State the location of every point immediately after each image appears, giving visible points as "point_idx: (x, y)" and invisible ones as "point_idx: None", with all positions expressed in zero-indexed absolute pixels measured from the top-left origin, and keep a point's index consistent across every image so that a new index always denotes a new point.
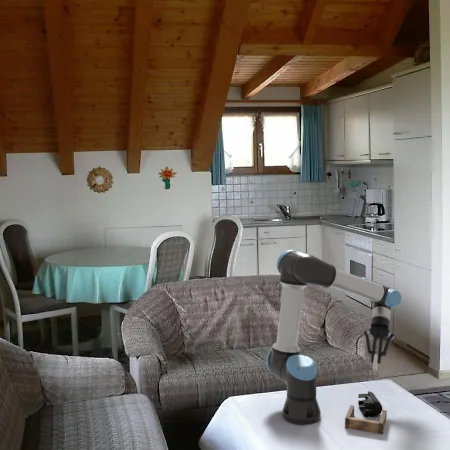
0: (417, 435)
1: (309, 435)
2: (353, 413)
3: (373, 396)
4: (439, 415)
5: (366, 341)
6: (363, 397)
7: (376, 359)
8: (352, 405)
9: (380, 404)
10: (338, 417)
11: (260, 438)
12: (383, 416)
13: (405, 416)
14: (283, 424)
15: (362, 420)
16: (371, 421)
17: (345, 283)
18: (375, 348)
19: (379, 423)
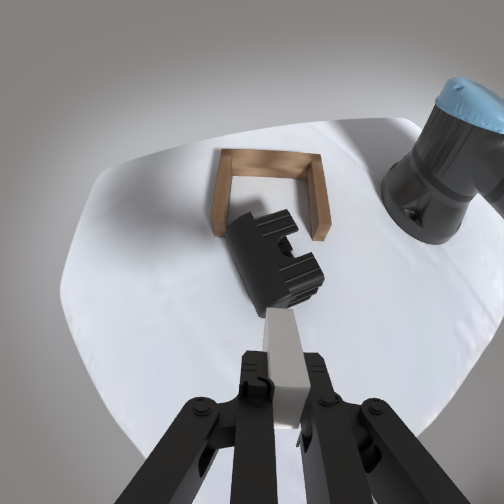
0: (142, 186)
1: (367, 141)
2: (313, 223)
3: (261, 253)
4: (66, 306)
5: (451, 481)
6: (300, 257)
7: (277, 350)
8: (324, 223)
9: (231, 224)
10: (347, 217)
11: (421, 131)
12: (220, 181)
13: (155, 275)
14: None
15: (275, 152)
16: (251, 152)
17: None
18: (315, 462)
19: (230, 150)
